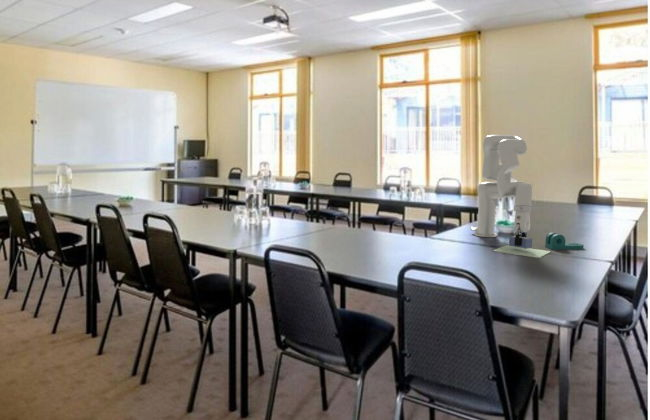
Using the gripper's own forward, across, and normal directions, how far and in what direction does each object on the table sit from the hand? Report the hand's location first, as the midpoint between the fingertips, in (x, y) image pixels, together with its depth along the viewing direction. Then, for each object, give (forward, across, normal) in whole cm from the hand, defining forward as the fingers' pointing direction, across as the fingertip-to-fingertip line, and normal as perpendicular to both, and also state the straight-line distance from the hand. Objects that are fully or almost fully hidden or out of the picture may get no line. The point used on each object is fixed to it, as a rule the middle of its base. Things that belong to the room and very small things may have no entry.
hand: (520, 244), depth 233 cm
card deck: (+1, 0, 0) cm, 1 cm away
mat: (+4, 0, -1) cm, 4 cm away
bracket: (+4, +25, -15) cm, 29 cm away
